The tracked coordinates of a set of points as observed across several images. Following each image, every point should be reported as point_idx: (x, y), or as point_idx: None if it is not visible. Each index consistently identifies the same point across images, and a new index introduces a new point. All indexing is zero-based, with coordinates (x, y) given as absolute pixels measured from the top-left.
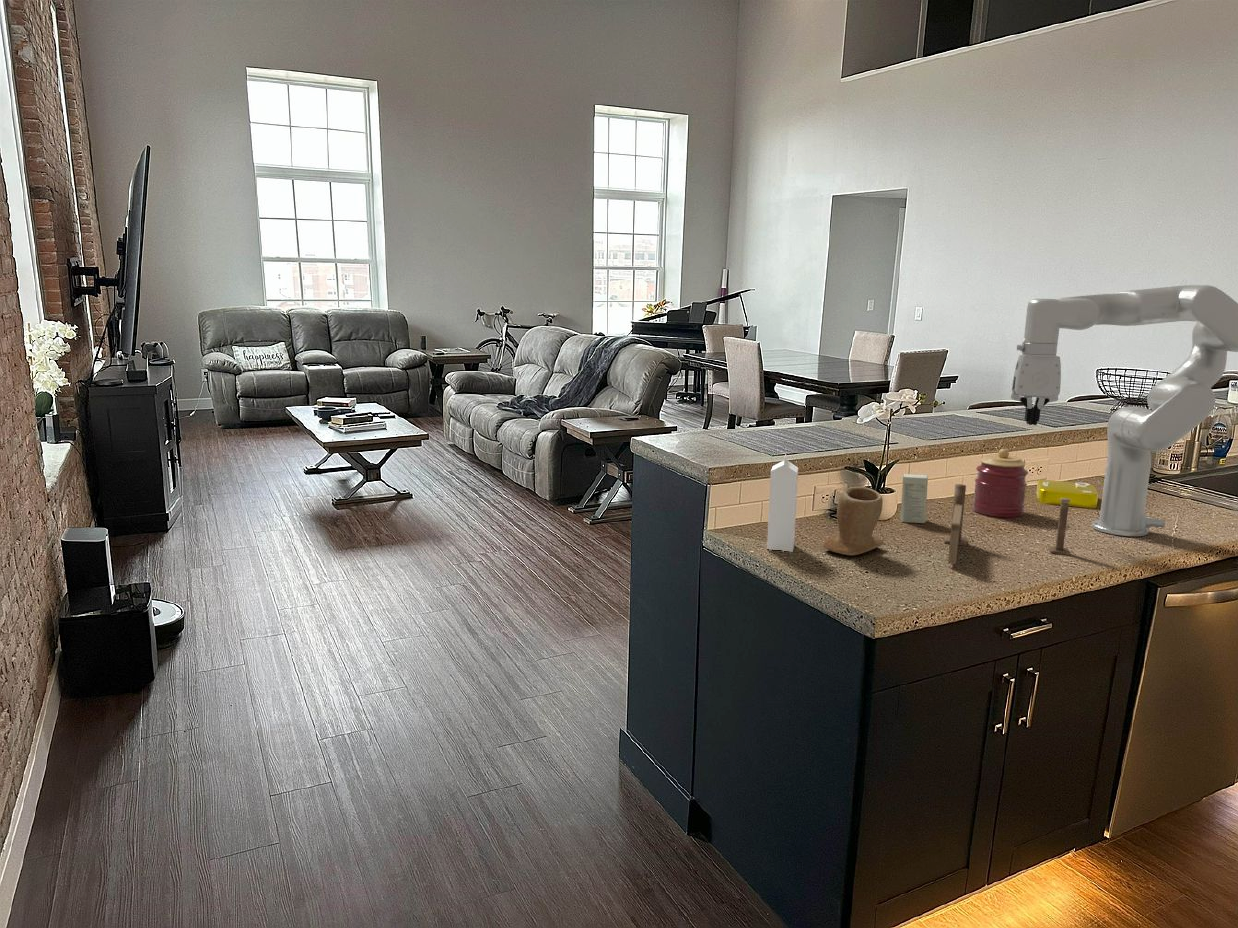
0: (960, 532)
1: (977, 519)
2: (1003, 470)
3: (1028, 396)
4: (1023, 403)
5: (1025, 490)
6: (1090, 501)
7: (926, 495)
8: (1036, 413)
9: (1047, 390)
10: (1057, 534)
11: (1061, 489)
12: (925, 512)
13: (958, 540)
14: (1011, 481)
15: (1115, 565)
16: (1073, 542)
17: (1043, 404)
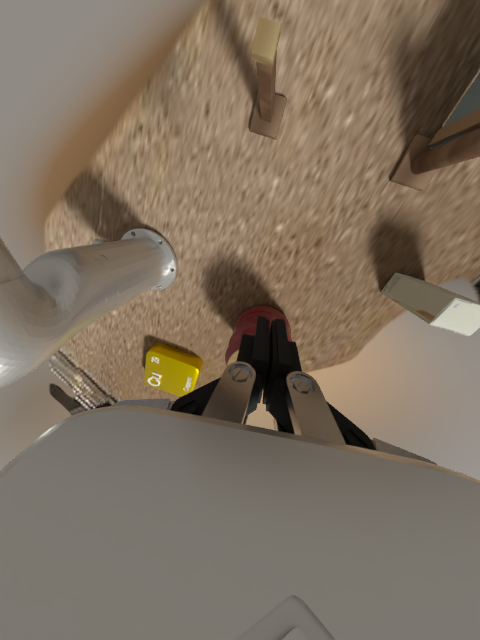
0: (430, 149)
1: (303, 297)
2: None
3: (381, 453)
4: (342, 415)
5: (233, 333)
6: (157, 347)
7: (427, 286)
8: (263, 343)
9: (153, 512)
10: (272, 104)
11: (178, 368)
12: (406, 277)
13: (440, 129)
14: None
15: (204, 18)
16: (223, 189)
17: (218, 382)
